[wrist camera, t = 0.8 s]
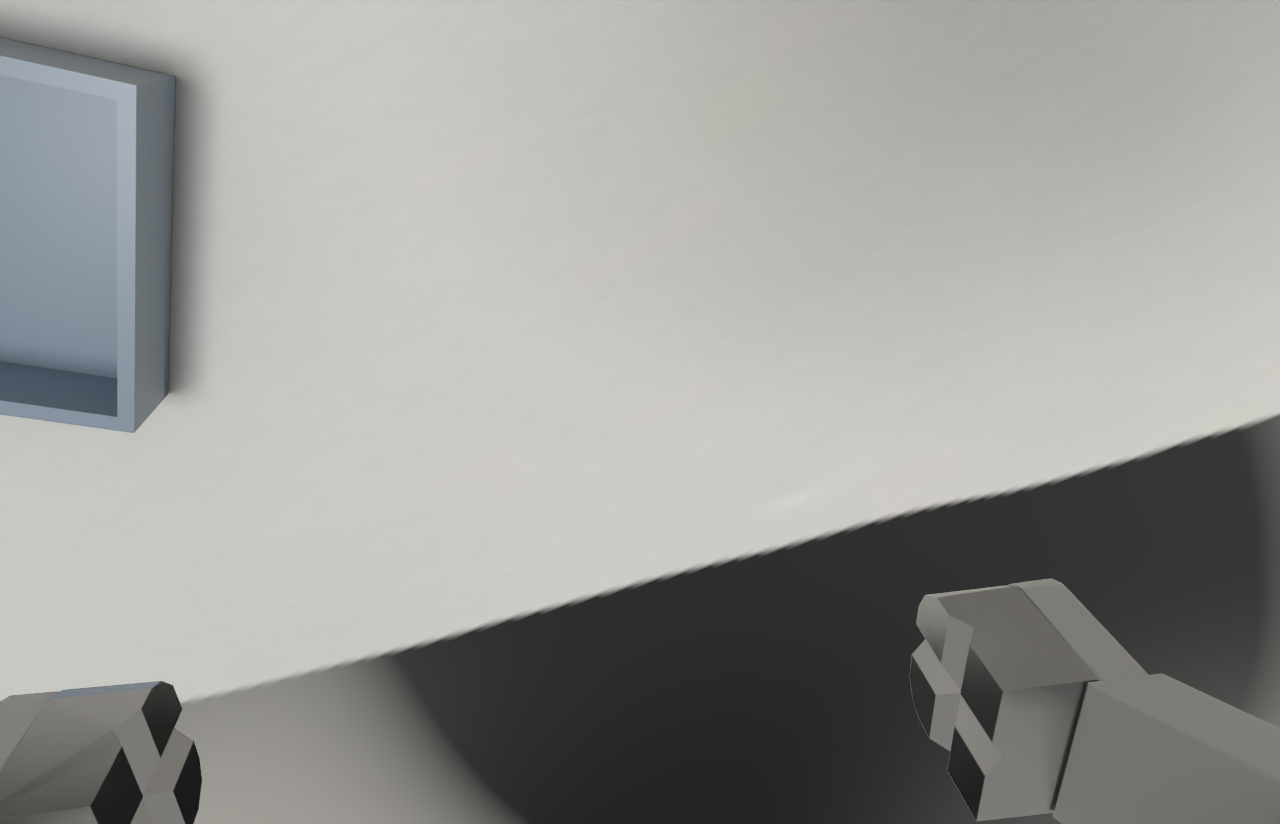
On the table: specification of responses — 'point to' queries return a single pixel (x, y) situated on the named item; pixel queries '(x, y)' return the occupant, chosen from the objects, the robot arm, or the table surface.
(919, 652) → the robot arm
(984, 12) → the table surface
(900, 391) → the table surface
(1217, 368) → the table surface
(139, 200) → the tote
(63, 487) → the table surface
